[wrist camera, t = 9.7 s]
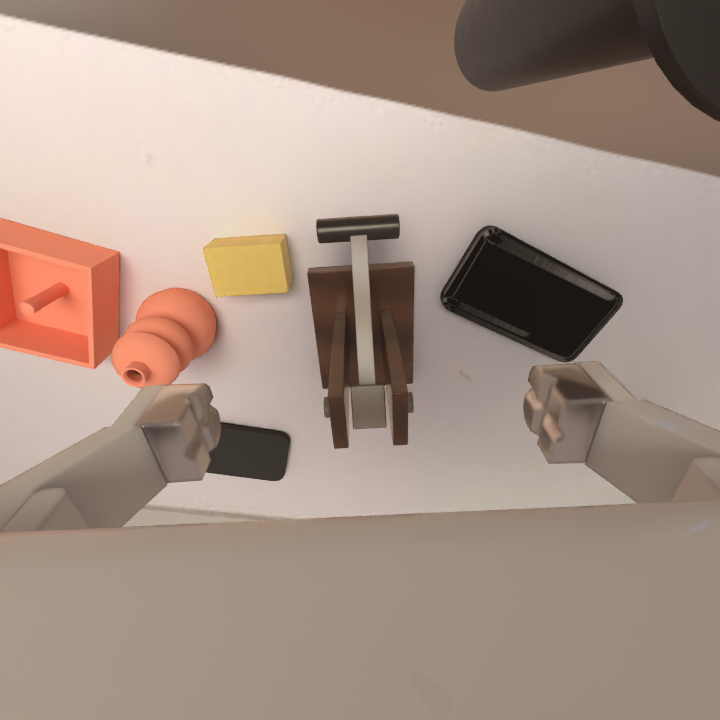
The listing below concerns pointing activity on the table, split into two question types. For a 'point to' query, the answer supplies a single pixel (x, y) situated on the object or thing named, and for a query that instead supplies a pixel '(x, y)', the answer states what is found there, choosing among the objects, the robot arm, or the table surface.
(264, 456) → the phone
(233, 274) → the butter block
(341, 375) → the brown wooden frame
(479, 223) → the table surface
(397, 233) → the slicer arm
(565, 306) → the phone
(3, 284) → the pottery
